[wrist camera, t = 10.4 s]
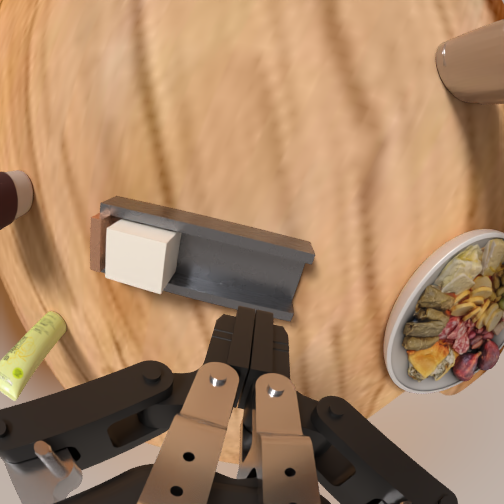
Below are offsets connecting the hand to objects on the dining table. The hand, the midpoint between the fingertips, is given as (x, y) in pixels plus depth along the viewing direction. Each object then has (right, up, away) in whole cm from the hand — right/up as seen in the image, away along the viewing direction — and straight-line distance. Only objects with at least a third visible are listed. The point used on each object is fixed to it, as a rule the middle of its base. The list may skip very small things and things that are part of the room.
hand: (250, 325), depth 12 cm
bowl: (+34, -6, +26) cm, 43 cm away
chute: (-6, +3, +23) cm, 24 cm away
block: (-12, +4, +22) cm, 26 cm away
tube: (-35, -10, +30) cm, 47 cm away
